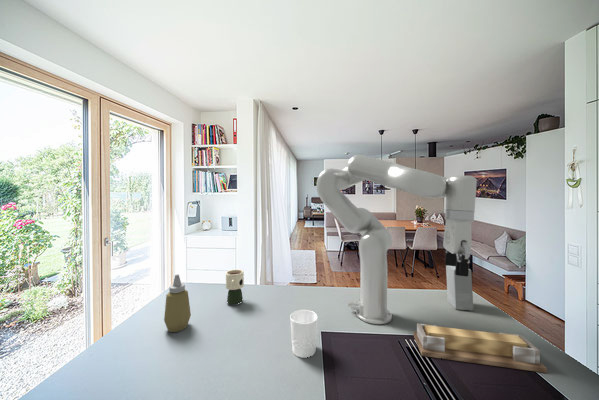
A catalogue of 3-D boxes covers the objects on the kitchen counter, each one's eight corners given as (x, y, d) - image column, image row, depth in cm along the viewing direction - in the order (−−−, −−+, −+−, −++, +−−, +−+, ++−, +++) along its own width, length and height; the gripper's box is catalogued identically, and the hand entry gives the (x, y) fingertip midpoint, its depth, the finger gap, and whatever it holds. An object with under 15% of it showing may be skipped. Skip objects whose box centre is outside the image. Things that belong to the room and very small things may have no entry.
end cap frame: (421, 355, 68) (421, 339, 67) (413, 335, 77) (413, 320, 77) (546, 373, 61) (547, 354, 61) (520, 348, 71) (520, 332, 71)
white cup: (309, 363, 65) (309, 326, 64) (284, 353, 69) (284, 318, 68) (322, 347, 71) (322, 314, 71) (299, 339, 75) (299, 307, 75)
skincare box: (473, 311, 93) (474, 270, 92) (453, 309, 94) (453, 269, 94) (463, 301, 101) (464, 264, 101) (444, 300, 102) (445, 263, 102)
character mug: (242, 309, 95) (241, 276, 95) (223, 309, 94) (223, 276, 94) (245, 297, 106) (245, 267, 105) (228, 297, 105) (228, 268, 105)
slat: (428, 346, 70) (428, 332, 70) (424, 338, 74) (424, 325, 74) (526, 358, 64) (527, 344, 64) (517, 349, 68) (517, 335, 68)
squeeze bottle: (196, 324, 84) (195, 273, 83) (175, 337, 76) (174, 280, 76) (179, 319, 87) (179, 269, 87) (158, 331, 80) (157, 277, 79)
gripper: (437, 212, 84) (434, 261, 85) (455, 218, 68) (451, 278, 68) (462, 213, 82) (459, 263, 83) (486, 220, 66) (482, 282, 66)
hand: (455, 270), depth 76 cm, fingers open, 9 cm apart
